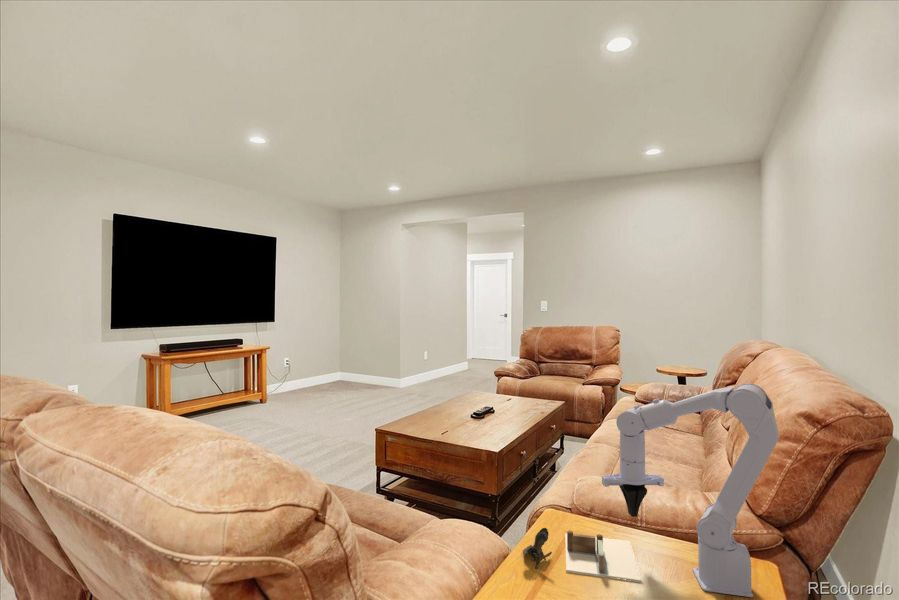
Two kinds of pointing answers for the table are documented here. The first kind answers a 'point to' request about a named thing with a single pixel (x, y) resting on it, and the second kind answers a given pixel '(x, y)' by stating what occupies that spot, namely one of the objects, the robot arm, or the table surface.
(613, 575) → the card
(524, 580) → the table surface
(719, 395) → the robot arm
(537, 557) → the eagle figurine
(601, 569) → the fence panel
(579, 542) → the fence
